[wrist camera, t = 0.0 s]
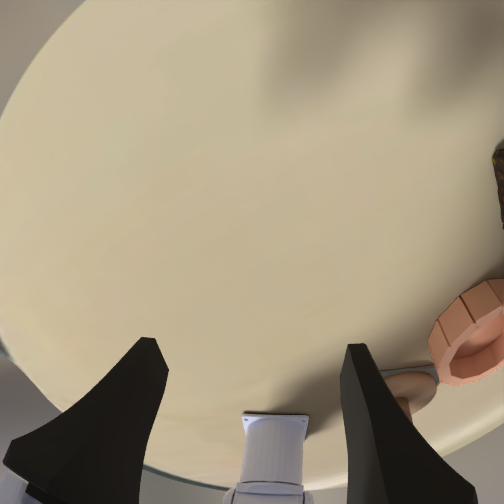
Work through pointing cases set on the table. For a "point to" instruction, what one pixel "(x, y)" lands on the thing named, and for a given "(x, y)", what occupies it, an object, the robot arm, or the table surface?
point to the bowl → (470, 335)
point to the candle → (500, 178)
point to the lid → (411, 390)
